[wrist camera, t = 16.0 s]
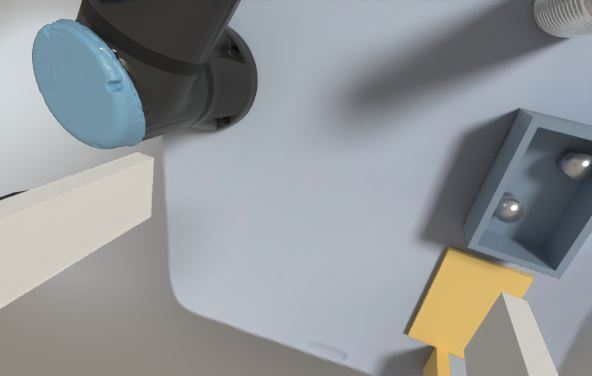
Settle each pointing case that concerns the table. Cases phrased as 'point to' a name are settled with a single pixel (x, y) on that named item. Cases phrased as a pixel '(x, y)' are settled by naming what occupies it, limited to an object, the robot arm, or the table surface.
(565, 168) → the part
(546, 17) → the water bottle
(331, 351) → the table surface
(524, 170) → the tub
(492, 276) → the lid
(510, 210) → the part
